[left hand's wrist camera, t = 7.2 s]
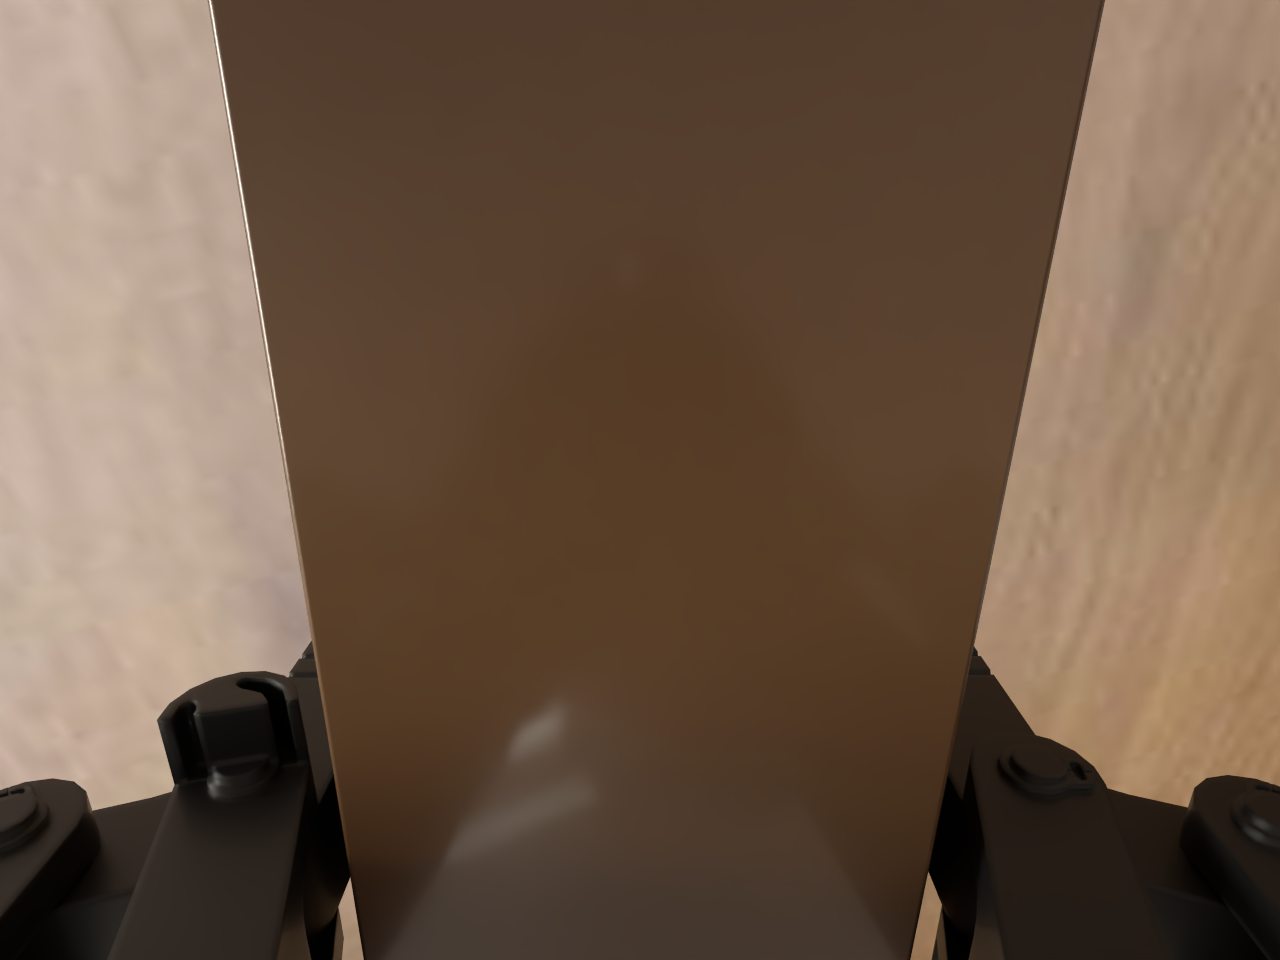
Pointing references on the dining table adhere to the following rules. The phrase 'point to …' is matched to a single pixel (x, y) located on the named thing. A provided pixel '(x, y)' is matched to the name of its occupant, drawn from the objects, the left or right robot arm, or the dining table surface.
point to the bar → (647, 441)
